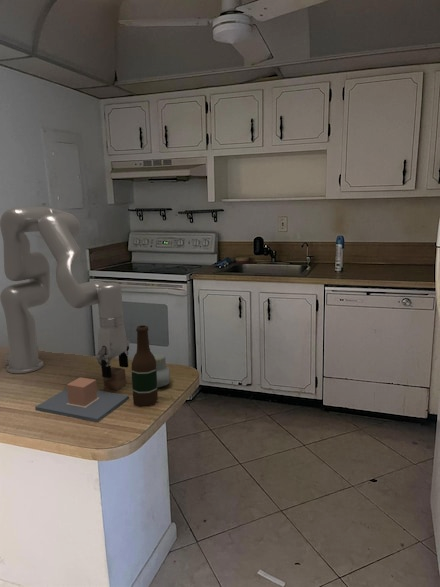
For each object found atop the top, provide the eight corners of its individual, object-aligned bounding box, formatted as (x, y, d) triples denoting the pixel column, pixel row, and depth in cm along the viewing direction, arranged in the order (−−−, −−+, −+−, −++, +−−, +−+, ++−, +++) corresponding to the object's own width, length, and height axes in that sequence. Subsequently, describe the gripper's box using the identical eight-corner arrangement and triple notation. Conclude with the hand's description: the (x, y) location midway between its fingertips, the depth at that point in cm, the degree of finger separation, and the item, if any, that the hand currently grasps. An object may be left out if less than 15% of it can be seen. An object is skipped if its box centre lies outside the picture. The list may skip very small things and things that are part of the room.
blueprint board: (35, 409, 131) (35, 406, 131) (71, 388, 145) (71, 385, 145) (97, 422, 123) (97, 418, 123) (128, 398, 138) (128, 395, 138)
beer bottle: (137, 409, 131) (133, 331, 126) (129, 399, 137) (125, 325, 132) (162, 403, 134) (159, 327, 129) (153, 394, 141) (150, 321, 136)
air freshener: (169, 390, 144) (168, 361, 142) (143, 391, 143) (142, 362, 141) (169, 377, 154) (169, 350, 152) (146, 378, 154) (144, 351, 152)
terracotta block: (68, 403, 132) (66, 384, 131) (81, 395, 138) (79, 377, 137) (84, 406, 130) (83, 387, 129) (97, 398, 136) (96, 379, 135)
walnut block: (104, 389, 145) (103, 372, 144) (113, 383, 150) (112, 366, 148) (117, 391, 143) (116, 374, 142) (125, 385, 148) (125, 368, 147)
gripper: (117, 314, 151) (120, 362, 154) (84, 327, 135) (89, 380, 138) (136, 315, 148) (139, 364, 152) (105, 329, 132) (110, 383, 136)
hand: (115, 371), depth 145 cm, fingers open, 9 cm apart
